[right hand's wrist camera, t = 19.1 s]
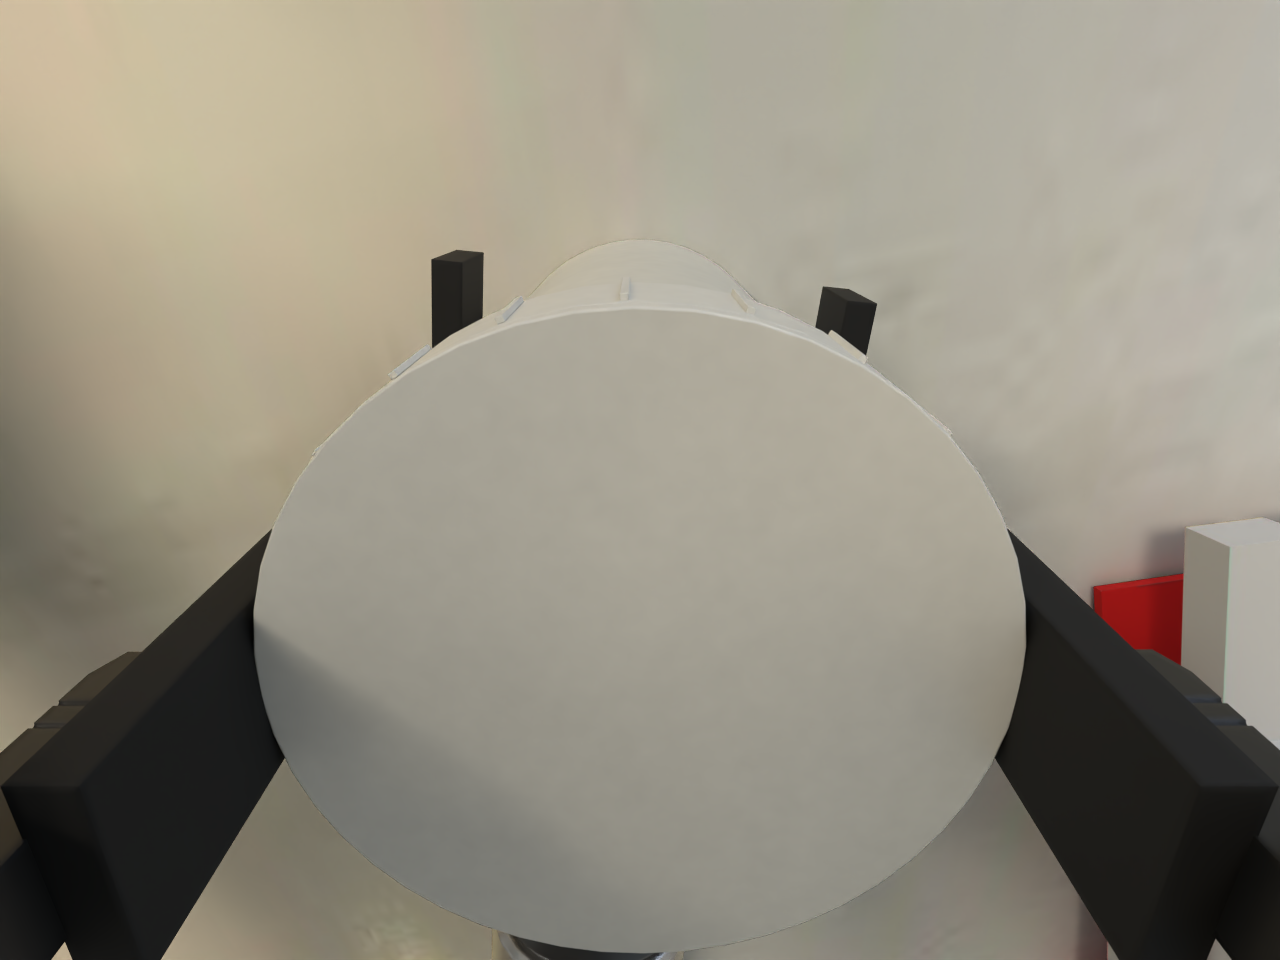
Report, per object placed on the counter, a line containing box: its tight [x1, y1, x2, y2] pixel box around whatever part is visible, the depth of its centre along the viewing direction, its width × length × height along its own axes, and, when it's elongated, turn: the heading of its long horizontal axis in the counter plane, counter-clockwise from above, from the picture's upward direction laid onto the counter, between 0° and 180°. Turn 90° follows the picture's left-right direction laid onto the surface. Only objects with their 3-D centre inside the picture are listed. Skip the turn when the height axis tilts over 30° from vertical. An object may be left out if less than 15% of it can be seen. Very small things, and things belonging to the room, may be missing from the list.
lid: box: [254, 277, 1026, 953], centre depth 11 cm, size 11×11×2 cm
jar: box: [525, 239, 756, 302], centre depth 19 cm, size 10×10×18 cm
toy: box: [1094, 517, 1280, 960], centre depth 30 cm, size 12×13×30 cm
